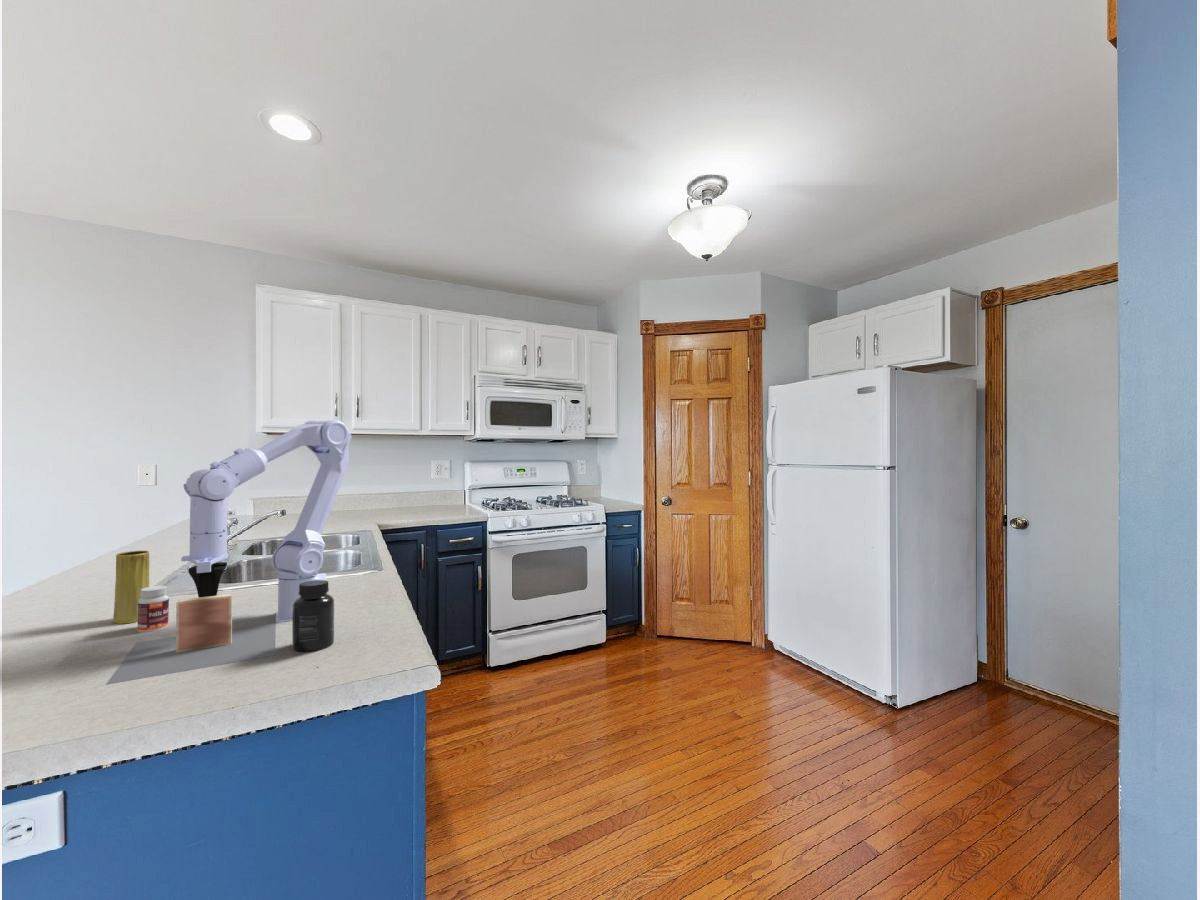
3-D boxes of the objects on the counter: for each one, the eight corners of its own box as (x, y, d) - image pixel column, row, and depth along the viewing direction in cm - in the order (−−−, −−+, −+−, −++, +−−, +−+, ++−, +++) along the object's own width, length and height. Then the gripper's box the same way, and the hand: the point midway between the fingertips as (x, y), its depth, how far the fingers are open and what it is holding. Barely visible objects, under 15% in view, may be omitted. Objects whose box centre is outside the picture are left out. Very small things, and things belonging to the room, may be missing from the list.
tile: (231, 641, 97) (232, 593, 97) (231, 644, 96) (231, 596, 96) (177, 649, 93) (177, 599, 93) (175, 653, 91) (176, 602, 91)
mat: (275, 624, 108) (275, 622, 108) (275, 657, 91) (275, 655, 91) (136, 644, 96) (136, 642, 96) (106, 686, 79) (106, 684, 79)
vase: (128, 615, 113) (129, 550, 113) (158, 614, 113) (159, 550, 113) (104, 624, 107) (105, 555, 107) (136, 624, 107) (136, 555, 107)
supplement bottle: (342, 643, 98) (343, 580, 98) (311, 656, 91) (312, 589, 91) (314, 638, 100) (315, 577, 100) (283, 651, 94) (283, 585, 94)
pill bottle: (150, 634, 101) (150, 591, 101) (131, 632, 102) (131, 590, 102) (174, 626, 106) (175, 585, 106) (156, 624, 107) (156, 584, 107)
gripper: (187, 528, 102) (187, 596, 102) (175, 539, 90) (174, 616, 90) (231, 526, 106) (230, 591, 106) (225, 536, 94) (224, 610, 94)
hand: (207, 603), depth 98 cm, fingers closed
